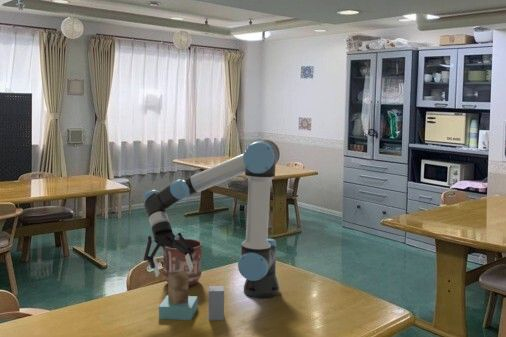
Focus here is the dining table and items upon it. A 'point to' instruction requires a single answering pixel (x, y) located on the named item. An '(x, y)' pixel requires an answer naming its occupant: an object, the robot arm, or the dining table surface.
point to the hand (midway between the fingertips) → (175, 272)
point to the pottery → (183, 261)
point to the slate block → (216, 302)
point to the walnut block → (178, 287)
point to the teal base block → (178, 309)
